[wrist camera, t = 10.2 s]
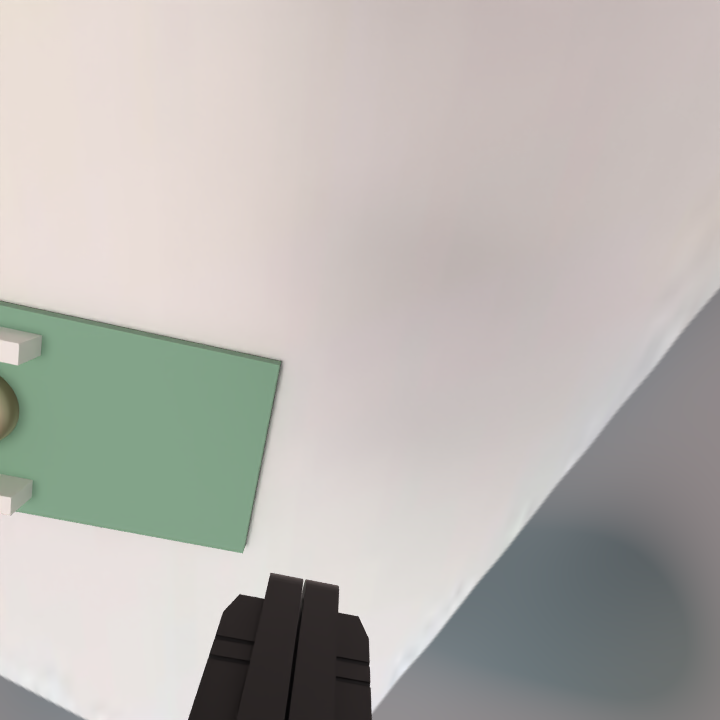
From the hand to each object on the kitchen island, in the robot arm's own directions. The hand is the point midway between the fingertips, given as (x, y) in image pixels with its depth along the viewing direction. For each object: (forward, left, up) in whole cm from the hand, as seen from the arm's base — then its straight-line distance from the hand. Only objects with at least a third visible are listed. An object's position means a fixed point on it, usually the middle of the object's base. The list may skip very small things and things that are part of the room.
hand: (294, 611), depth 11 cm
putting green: (+11, -16, -27) cm, 33 cm away
